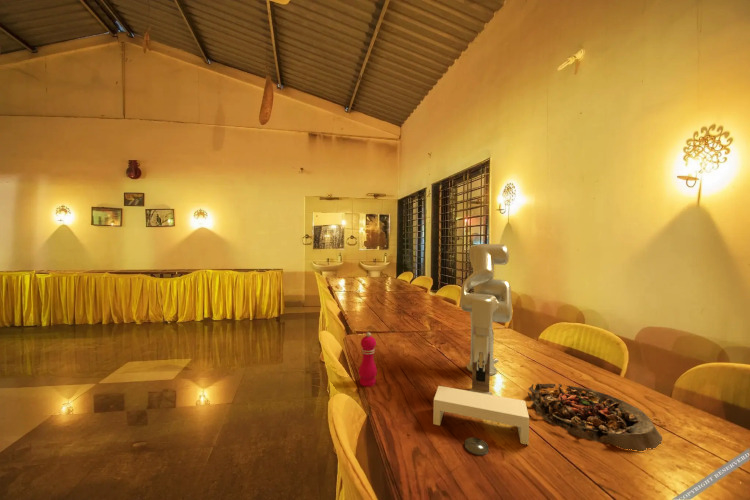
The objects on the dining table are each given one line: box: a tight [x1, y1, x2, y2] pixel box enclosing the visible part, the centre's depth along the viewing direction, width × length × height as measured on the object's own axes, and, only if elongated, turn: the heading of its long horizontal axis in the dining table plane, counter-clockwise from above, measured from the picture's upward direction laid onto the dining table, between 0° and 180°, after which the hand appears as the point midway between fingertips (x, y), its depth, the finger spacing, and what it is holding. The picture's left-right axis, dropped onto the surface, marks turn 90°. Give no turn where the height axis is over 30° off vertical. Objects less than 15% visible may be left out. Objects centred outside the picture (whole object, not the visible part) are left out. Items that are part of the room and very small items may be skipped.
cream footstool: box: [432, 385, 530, 446], centre depth 91 cm, size 10×26×8 cm, turn 70°
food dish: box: [527, 383, 663, 451], centre depth 97 cm, size 35×33×8 cm
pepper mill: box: [358, 331, 378, 388], centre depth 118 cm, size 7×7×20 cm
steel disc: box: [464, 436, 489, 456], centre depth 81 cm, size 6×6×1 cm
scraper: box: [468, 351, 493, 395], centre depth 105 cm, size 20×8×15 cm, turn 160°
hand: (480, 378), depth 113 cm, fingers closed on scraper, 3 cm apart
